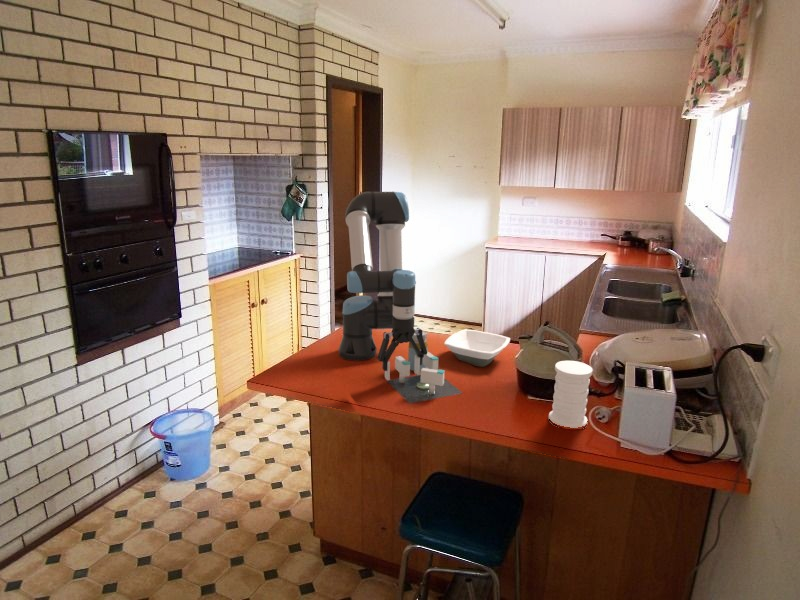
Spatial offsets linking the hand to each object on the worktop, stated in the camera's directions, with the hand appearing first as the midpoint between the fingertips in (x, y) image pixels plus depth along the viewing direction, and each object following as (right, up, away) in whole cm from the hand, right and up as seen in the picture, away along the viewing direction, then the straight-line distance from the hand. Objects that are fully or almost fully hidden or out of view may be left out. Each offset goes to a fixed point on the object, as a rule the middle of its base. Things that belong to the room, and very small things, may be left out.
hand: (402, 376), depth 194 cm
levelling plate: (+7, -4, -2) cm, 9 cm away
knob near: (0, -2, +1) cm, 2 cm away
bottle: (+6, 0, +14) cm, 15 cm away
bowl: (+29, +3, +25) cm, 39 cm away
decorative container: (+51, -11, -22) cm, 57 cm away
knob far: (+10, -1, +5) cm, 11 cm away
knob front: (+10, -5, -8) cm, 13 cm away
